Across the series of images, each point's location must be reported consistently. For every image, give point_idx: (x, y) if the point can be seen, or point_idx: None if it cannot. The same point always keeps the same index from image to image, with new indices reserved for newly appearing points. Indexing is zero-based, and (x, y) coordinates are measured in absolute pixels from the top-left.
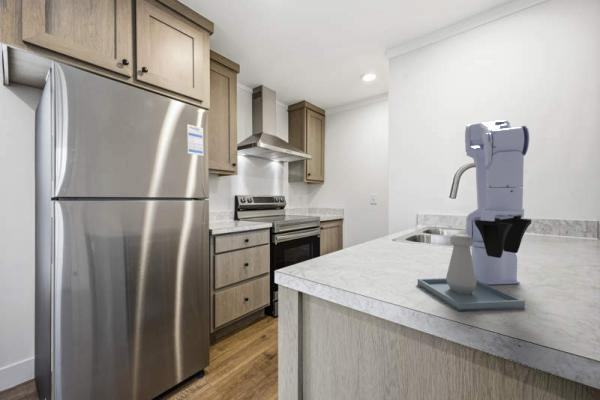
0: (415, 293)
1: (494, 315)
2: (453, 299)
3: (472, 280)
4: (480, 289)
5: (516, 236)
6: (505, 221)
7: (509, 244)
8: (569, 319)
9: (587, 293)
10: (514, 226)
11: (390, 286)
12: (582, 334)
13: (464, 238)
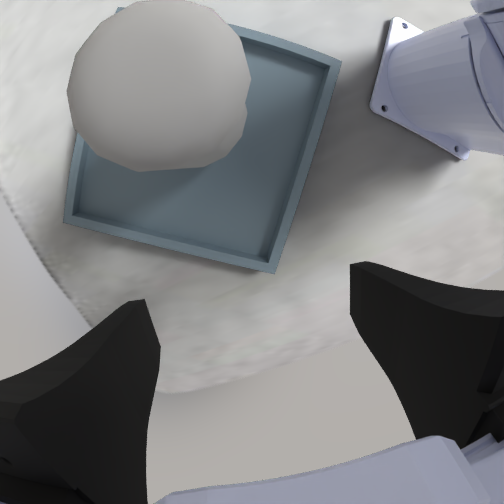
0: (58, 76)
1: (142, 261)
2: (71, 192)
3: (185, 166)
4: (286, 131)
5: (397, 370)
6: (471, 388)
7: (369, 309)
8: (299, 330)
9: (495, 264)
10: (434, 408)
11: (39, 16)
12: (238, 367)
13: (96, 152)
